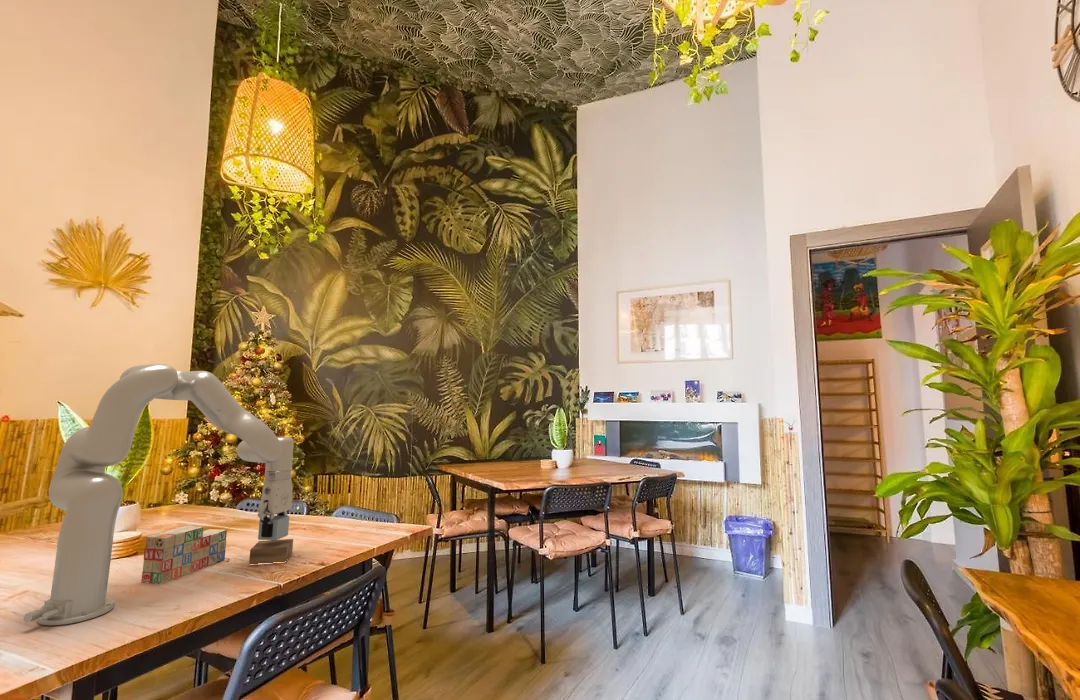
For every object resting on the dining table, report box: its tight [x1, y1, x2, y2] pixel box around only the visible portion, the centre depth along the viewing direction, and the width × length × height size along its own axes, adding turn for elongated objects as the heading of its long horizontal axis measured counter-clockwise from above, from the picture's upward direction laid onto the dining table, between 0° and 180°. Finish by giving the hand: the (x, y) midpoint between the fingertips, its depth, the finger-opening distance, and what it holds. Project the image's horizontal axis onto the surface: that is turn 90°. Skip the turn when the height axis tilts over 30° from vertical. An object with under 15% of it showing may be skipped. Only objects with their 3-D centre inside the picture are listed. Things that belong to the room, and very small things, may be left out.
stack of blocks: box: [140, 525, 228, 585], centre depth 140 cm, size 21×6×12 cm, turn 170°
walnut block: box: [248, 538, 294, 565], centre depth 150 cm, size 10×10×5 cm
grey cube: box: [257, 515, 290, 541], centre depth 151 cm, size 6×6×6 cm
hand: (273, 533), depth 151 cm, fingers closed on grey cube, 6 cm apart
